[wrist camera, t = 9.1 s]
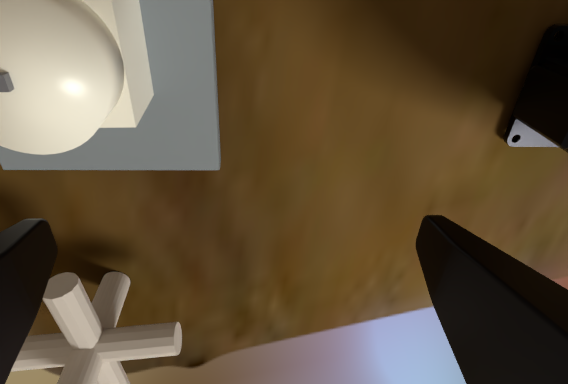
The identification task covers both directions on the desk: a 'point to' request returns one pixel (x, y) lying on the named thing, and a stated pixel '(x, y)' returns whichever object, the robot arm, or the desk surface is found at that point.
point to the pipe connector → (94, 333)
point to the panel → (158, 103)
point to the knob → (70, 71)
